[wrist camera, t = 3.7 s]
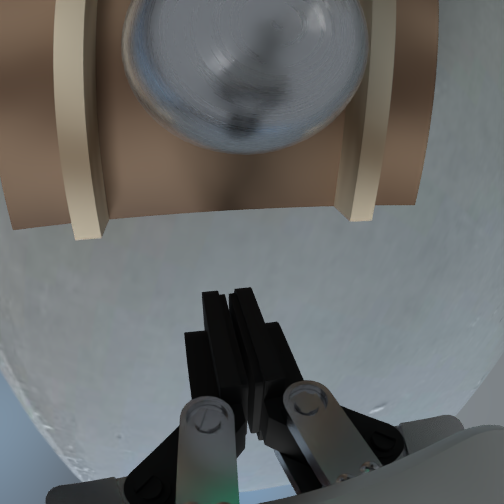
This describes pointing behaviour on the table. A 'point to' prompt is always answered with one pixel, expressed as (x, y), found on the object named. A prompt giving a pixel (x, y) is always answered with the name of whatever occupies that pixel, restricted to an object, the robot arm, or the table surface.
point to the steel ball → (244, 68)
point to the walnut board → (183, 153)
